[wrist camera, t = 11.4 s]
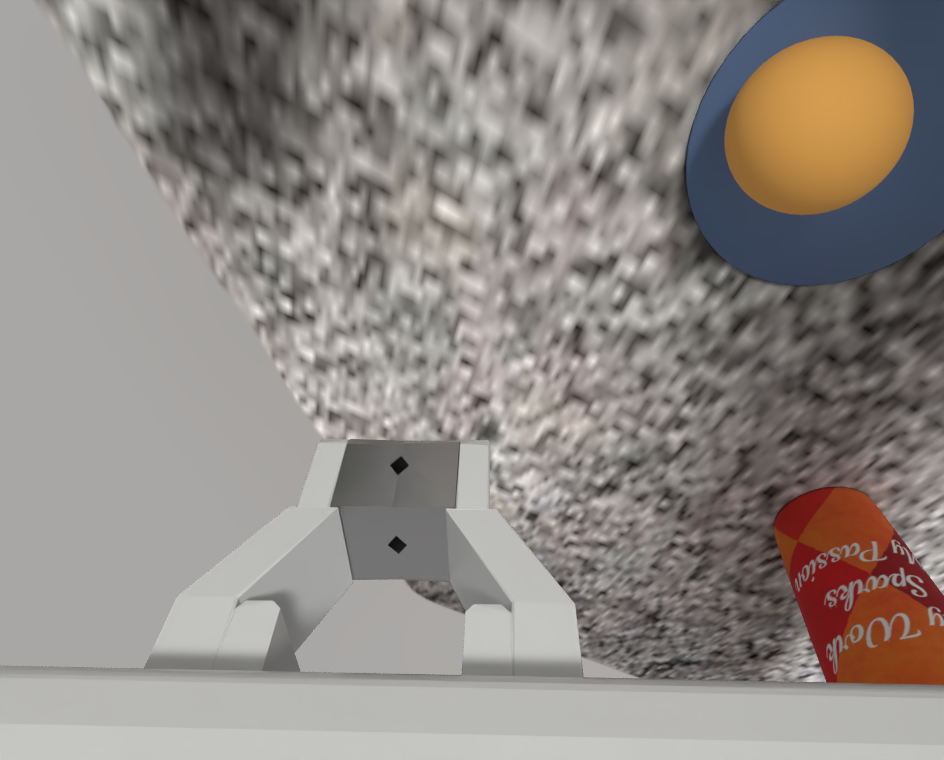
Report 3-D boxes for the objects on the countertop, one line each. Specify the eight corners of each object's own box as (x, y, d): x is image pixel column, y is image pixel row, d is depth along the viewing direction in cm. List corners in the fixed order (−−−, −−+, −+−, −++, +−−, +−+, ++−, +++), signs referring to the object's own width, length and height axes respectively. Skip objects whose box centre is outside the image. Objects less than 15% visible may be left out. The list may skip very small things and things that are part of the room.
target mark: (1101, -51, 22) (1106, -51, 22) (942, 283, 30) (944, 285, 30) (722, -45, 23) (724, -45, 22) (662, 283, 30) (663, 285, 30)
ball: (910, 38, 18) (694, 90, 22) (909, 233, 21) (719, 250, 25) (918, -7, 22) (733, 43, 25) (916, 163, 25) (751, 186, 28)
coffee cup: (894, 457, 37) (1089, 729, 25) (895, 545, 41) (1061, 811, 29) (743, 492, 39) (854, 758, 27) (759, 572, 43) (862, 831, 31)
